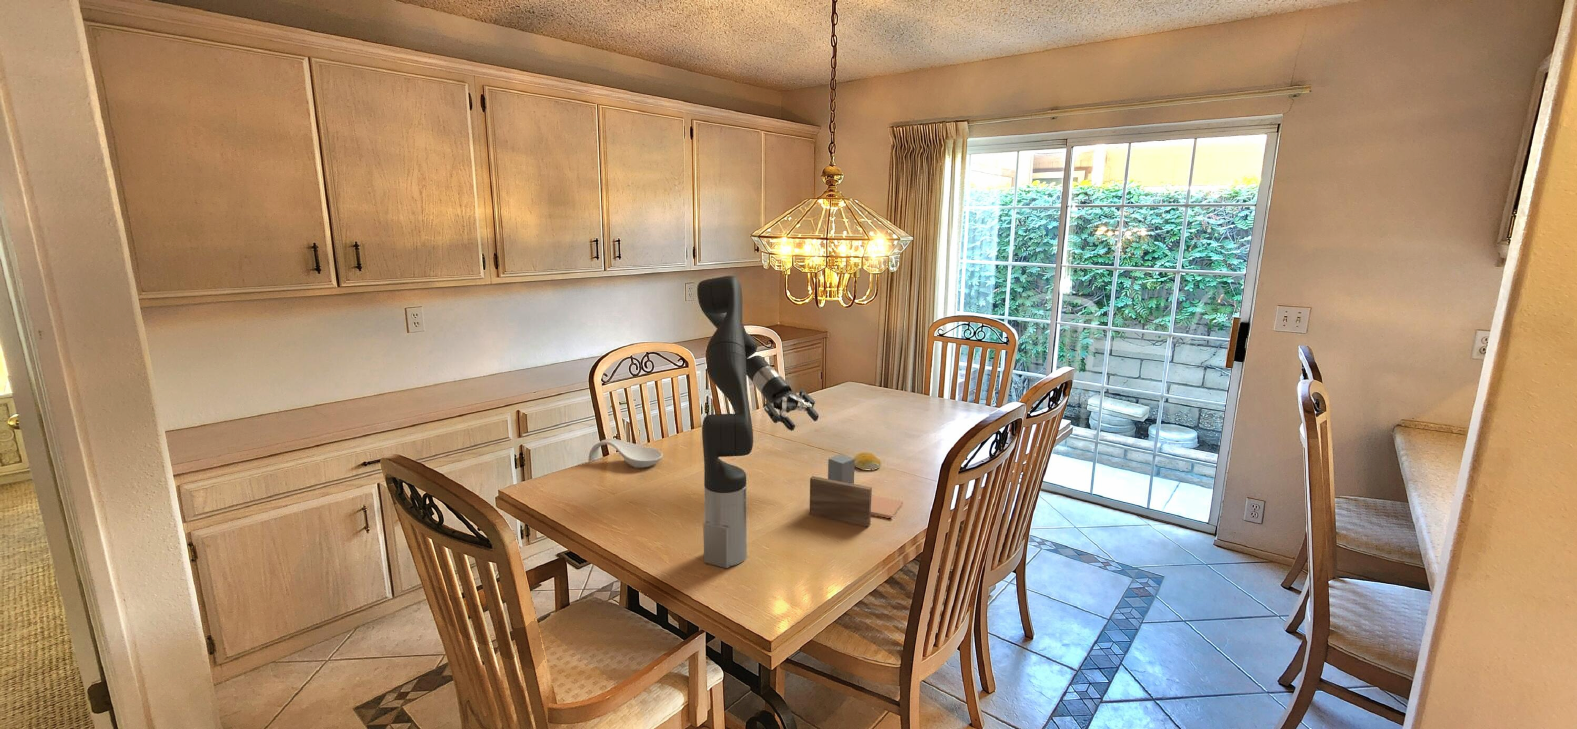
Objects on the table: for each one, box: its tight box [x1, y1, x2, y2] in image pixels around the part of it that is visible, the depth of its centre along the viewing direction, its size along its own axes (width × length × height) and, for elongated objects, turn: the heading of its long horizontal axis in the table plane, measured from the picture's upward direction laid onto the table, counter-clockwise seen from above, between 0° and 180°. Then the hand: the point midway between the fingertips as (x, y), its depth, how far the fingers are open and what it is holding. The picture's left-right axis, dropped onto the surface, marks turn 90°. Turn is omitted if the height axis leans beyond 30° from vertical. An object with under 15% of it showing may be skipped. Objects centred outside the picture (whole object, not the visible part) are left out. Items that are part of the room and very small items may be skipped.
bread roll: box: [853, 452, 882, 470], centre depth 200 cm, size 8×9×4 cm
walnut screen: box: [808, 475, 873, 528], centre depth 163 cm, size 2×16×10 cm, turn 64°
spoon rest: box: [587, 438, 664, 469], centre depth 200 cm, size 24×12×7 cm, turn 78°
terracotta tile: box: [871, 494, 904, 519], centre depth 170 cm, size 10×10×1 cm
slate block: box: [827, 453, 856, 484], centre depth 174 cm, size 5×5×12 cm
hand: (805, 423), depth 177 cm, fingers open, 8 cm apart
